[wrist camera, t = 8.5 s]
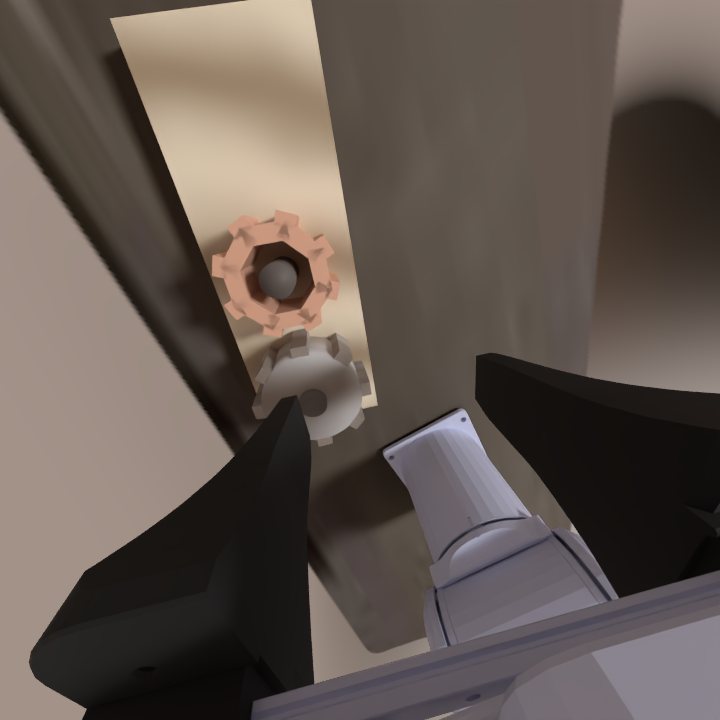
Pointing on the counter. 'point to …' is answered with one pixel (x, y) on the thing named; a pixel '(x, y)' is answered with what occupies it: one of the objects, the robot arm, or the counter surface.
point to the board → (259, 182)
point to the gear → (245, 283)
